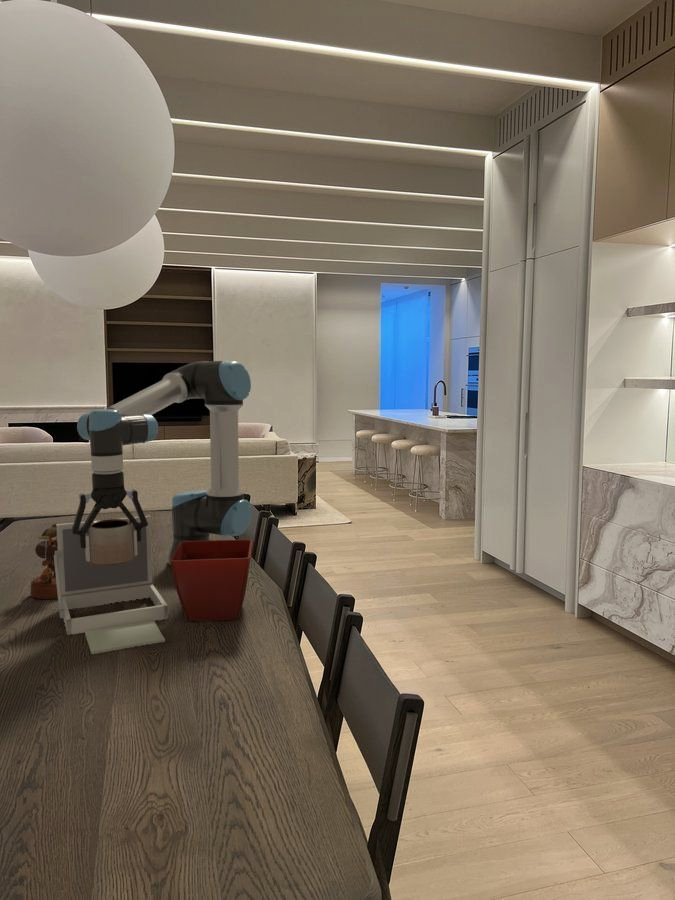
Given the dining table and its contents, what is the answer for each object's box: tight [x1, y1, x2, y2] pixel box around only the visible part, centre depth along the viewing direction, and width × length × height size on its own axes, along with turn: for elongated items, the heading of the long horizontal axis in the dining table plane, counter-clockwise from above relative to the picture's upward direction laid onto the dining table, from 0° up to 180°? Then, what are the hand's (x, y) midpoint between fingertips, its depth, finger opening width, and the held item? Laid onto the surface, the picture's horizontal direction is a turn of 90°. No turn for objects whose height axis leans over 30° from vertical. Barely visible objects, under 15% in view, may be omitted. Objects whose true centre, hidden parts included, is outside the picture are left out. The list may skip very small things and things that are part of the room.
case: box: [54, 515, 169, 636], centre depth 172 cm, size 25×20×22 cm
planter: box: [88, 518, 134, 566], centre depth 171 cm, size 11×11×10 cm
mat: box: [84, 620, 166, 655], centre depth 158 cm, size 16×13×1 cm
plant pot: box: [170, 539, 253, 622], centre depth 174 cm, size 19×19×17 cm
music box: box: [30, 522, 58, 600], centre depth 189 cm, size 15×11×20 cm
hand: (111, 557), depth 172 cm, fingers closed on planter, 11 cm apart
